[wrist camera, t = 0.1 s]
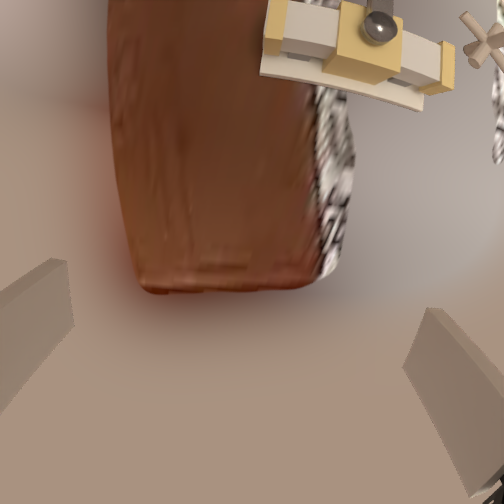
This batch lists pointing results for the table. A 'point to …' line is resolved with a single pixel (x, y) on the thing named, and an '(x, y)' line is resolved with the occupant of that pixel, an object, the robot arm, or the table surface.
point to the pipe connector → (483, 43)
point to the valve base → (353, 54)
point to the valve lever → (379, 22)
